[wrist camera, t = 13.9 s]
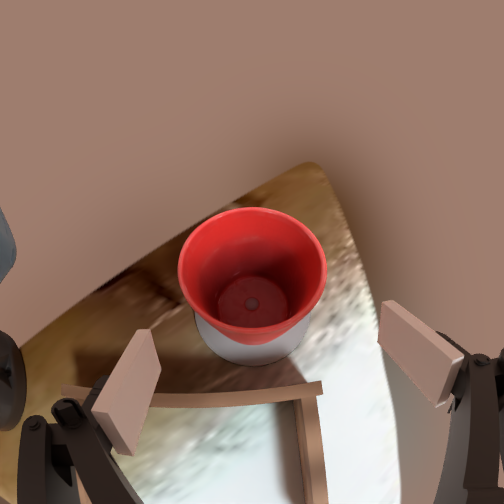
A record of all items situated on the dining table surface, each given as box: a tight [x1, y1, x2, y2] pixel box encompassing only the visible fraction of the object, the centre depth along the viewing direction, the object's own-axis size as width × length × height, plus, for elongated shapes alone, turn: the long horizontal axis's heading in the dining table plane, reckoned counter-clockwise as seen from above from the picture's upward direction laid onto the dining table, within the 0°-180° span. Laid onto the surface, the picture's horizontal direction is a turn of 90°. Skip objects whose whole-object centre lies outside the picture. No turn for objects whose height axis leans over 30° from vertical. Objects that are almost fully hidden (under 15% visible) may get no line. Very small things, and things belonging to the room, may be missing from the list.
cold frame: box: [61, 381, 329, 504], centre depth 17 cm, size 16×24×5 cm, turn 96°
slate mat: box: [195, 311, 311, 366], centre depth 28 cm, size 12×12×1 cm
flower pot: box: [178, 207, 327, 345], centre depth 24 cm, size 11×11×10 cm
